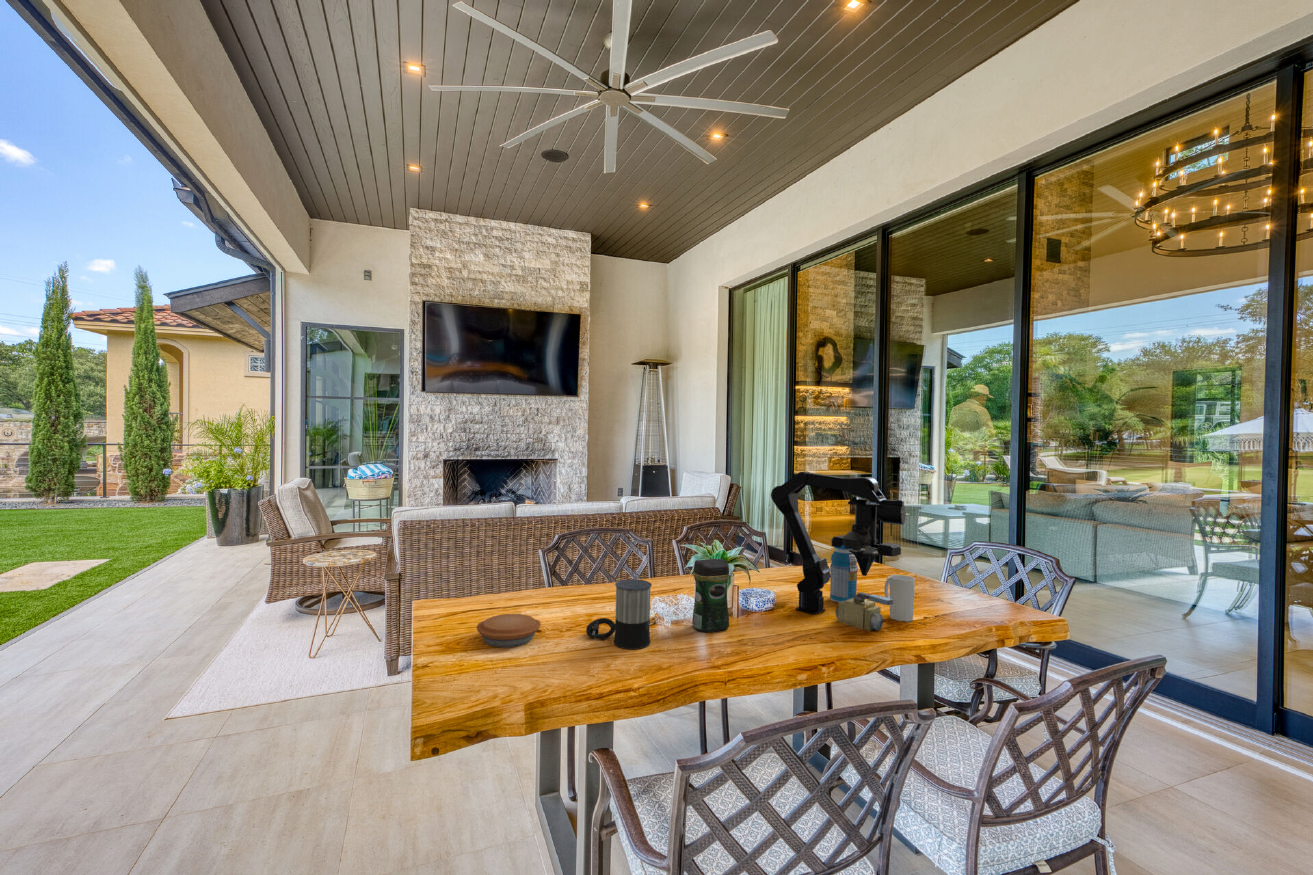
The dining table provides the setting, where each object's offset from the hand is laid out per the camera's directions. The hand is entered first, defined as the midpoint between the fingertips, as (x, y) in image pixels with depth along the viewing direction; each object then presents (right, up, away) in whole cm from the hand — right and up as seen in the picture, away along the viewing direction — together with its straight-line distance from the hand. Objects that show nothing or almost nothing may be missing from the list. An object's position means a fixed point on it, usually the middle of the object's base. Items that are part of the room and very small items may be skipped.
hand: (864, 575), depth 164 cm
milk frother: (-69, -12, -20) cm, 73 cm away
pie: (-96, -11, -21) cm, 99 cm away
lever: (0, -6, -6) cm, 9 cm away
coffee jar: (-45, -12, -9) cm, 48 cm away
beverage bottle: (+1, -13, +20) cm, 24 cm away
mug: (+11, -14, +5) cm, 18 cm away
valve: (-3, -13, -3) cm, 14 cm away
